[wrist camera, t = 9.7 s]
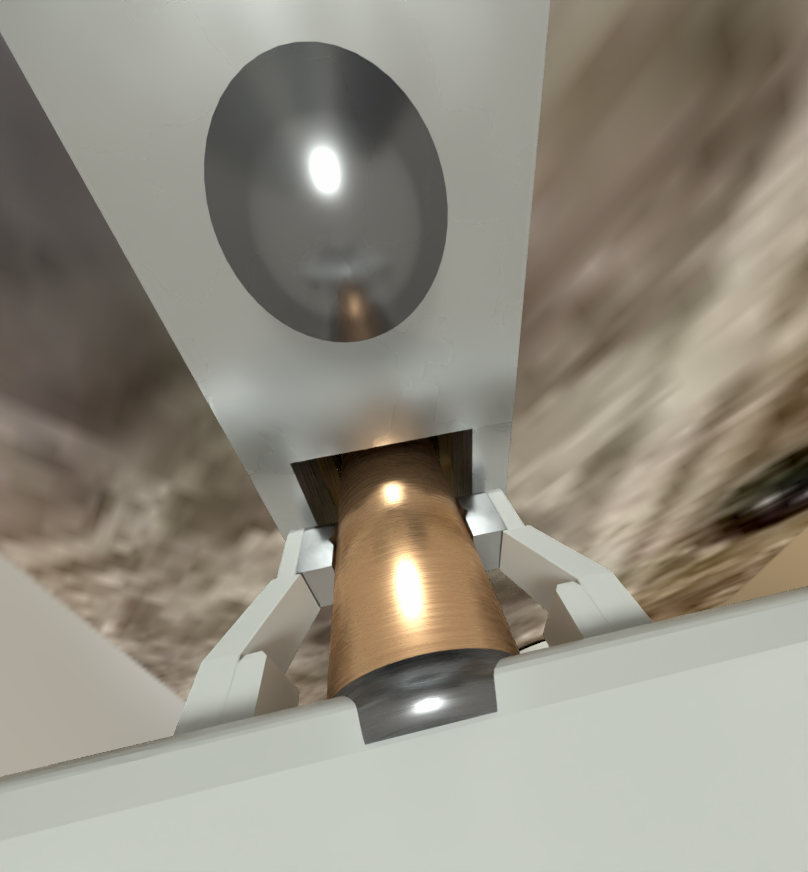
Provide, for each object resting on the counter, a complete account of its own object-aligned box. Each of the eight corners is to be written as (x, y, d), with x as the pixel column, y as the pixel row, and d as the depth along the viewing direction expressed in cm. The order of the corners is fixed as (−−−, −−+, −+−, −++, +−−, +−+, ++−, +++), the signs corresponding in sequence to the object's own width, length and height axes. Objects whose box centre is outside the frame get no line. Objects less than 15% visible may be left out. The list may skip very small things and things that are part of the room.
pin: (435, 482, 14) (535, 754, 6) (353, 498, 14) (352, 801, 6) (428, 409, 12) (568, 688, 4) (331, 427, 11) (285, 759, 4)
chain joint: (464, 560, 21) (498, 654, 16) (356, 583, 20) (357, 687, 16) (452, 48, 8) (616, -305, 3) (158, 82, 8) (-225, -262, 3)
